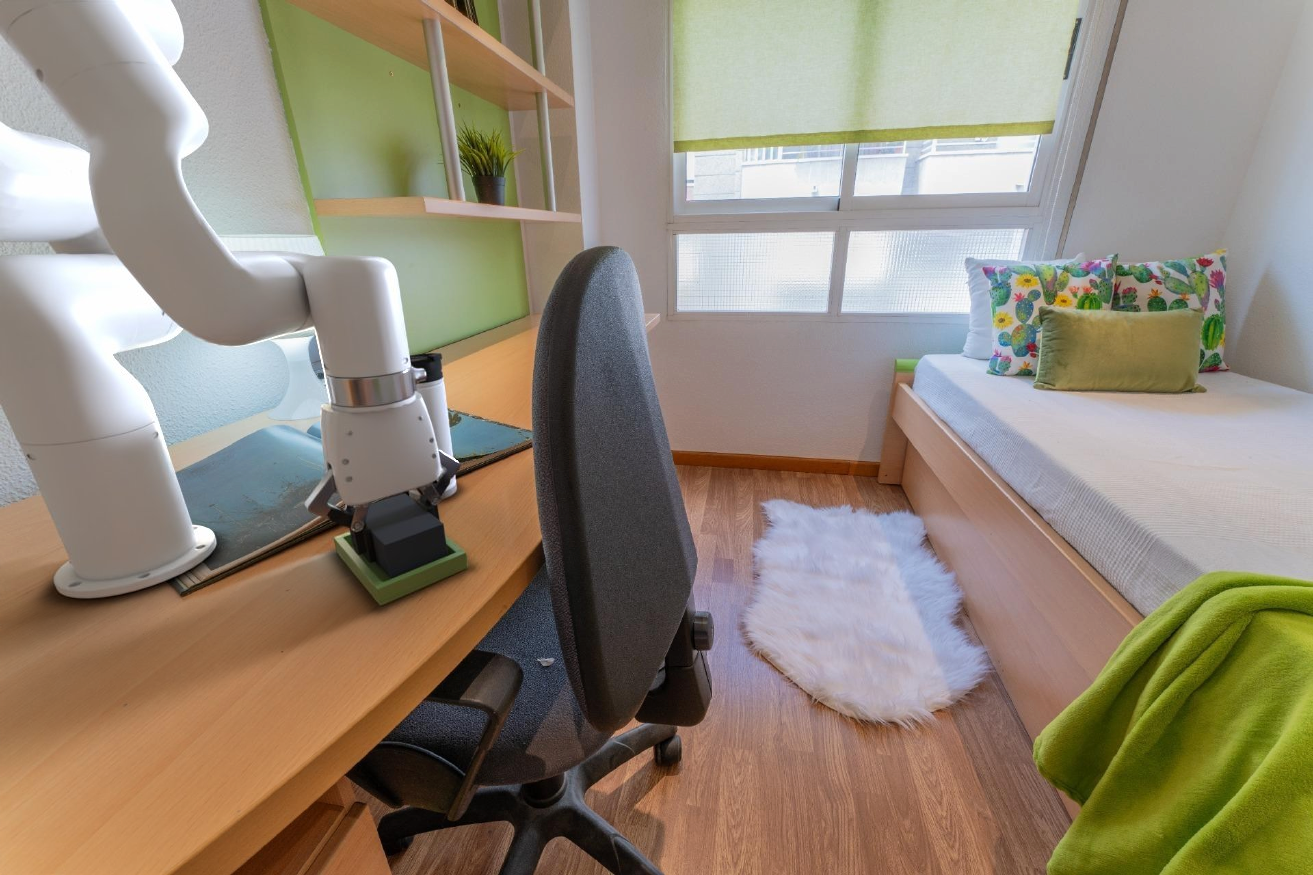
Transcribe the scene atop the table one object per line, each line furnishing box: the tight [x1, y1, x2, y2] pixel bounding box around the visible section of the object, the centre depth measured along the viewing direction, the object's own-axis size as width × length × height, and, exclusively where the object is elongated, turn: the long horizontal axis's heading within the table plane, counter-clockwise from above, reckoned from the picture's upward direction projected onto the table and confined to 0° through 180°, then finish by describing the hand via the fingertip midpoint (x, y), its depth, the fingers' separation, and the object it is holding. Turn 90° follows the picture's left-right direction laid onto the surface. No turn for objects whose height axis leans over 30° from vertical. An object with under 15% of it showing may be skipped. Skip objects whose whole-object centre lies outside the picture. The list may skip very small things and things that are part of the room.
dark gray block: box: [366, 492, 448, 579], centre depth 57 cm, size 10×6×4 cm, turn 46°
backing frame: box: [332, 531, 469, 607], centre depth 58 cm, size 13×9×2 cm
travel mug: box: [408, 352, 458, 502], centre depth 70 cm, size 6×7×20 cm
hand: (400, 543), depth 57 cm, fingers closed on dark gray block, 5 cm apart
